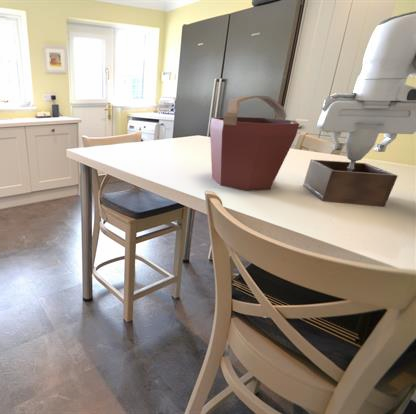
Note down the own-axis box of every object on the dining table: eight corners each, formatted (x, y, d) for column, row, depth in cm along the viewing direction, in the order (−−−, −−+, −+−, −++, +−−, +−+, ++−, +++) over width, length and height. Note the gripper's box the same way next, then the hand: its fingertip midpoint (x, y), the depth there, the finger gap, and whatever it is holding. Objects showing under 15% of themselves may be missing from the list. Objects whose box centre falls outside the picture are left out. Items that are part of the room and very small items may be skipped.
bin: (355, 190, 82) (365, 163, 79) (384, 206, 70) (398, 175, 67) (303, 185, 86) (310, 159, 83) (322, 200, 73) (331, 170, 70)
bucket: (225, 195, 76) (244, 95, 67) (186, 173, 96) (197, 94, 87) (301, 190, 81) (329, 97, 71) (249, 170, 101) (266, 95, 91)
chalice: (355, 198, 73) (382, 126, 66) (323, 191, 77) (346, 123, 71) (360, 192, 77) (386, 124, 70) (330, 186, 82) (352, 121, 75)
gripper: (332, 93, 68) (316, 150, 73) (439, 93, 63) (413, 155, 68) (321, 93, 73) (306, 146, 79) (418, 93, 68) (396, 150, 74)
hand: (357, 150), depth 73 cm, fingers open, 8 cm apart
